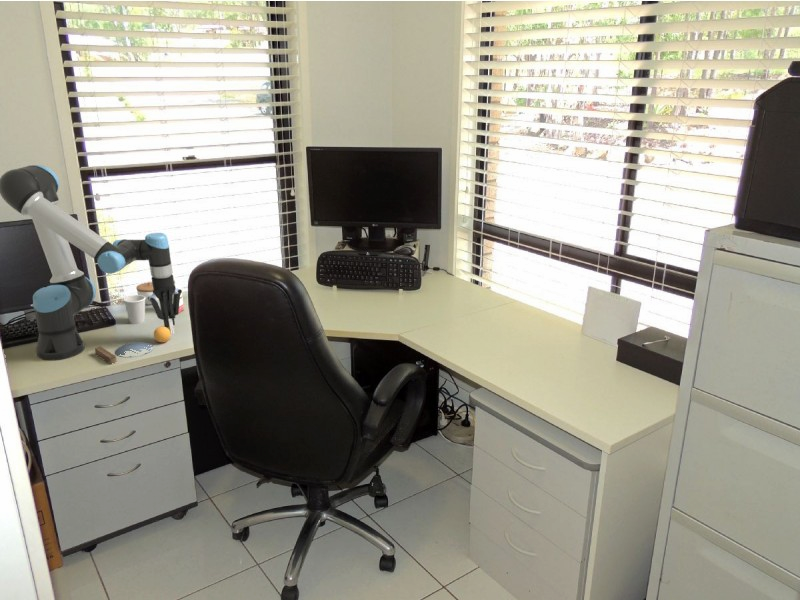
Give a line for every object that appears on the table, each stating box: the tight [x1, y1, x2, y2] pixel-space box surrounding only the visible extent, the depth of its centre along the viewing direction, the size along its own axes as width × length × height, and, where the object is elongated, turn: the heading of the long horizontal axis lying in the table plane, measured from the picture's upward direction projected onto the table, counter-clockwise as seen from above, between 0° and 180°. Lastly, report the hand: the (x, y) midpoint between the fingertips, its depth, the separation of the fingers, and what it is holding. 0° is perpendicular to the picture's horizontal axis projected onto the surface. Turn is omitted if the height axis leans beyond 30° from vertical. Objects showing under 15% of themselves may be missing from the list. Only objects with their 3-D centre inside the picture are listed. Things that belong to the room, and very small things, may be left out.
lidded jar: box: [136, 281, 160, 306], centre depth 273 cm, size 11×11×9 cm
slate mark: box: [115, 341, 154, 356], centre depth 227 cm, size 13×13×1 cm
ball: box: [153, 325, 171, 343], centre depth 233 cm, size 6×6×6 cm
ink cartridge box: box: [159, 279, 185, 313], centre depth 263 cm, size 9×5×15 cm, turn 80°
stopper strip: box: [94, 346, 117, 365], centre depth 219 cm, size 2×12×2 cm, turn 48°
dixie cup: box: [122, 294, 146, 325], centre depth 251 cm, size 8×8×10 cm
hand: (171, 334), depth 236 cm, fingers closed
